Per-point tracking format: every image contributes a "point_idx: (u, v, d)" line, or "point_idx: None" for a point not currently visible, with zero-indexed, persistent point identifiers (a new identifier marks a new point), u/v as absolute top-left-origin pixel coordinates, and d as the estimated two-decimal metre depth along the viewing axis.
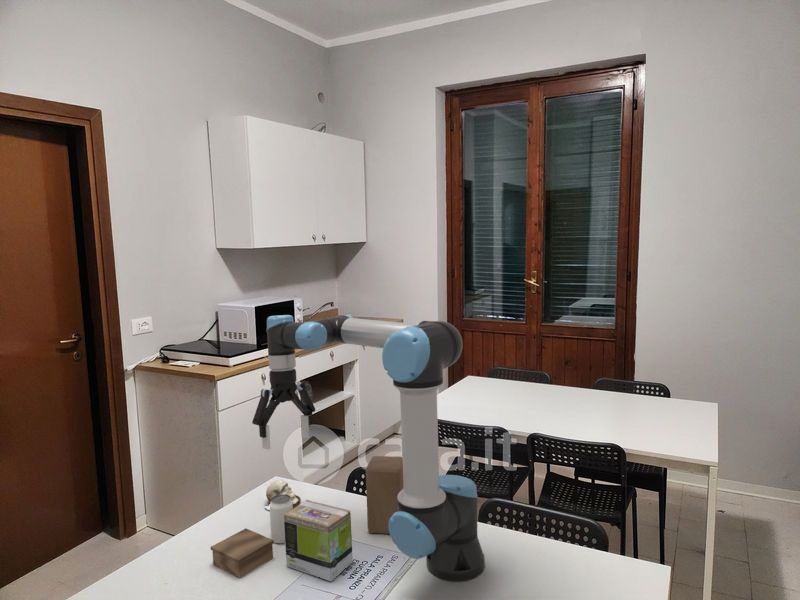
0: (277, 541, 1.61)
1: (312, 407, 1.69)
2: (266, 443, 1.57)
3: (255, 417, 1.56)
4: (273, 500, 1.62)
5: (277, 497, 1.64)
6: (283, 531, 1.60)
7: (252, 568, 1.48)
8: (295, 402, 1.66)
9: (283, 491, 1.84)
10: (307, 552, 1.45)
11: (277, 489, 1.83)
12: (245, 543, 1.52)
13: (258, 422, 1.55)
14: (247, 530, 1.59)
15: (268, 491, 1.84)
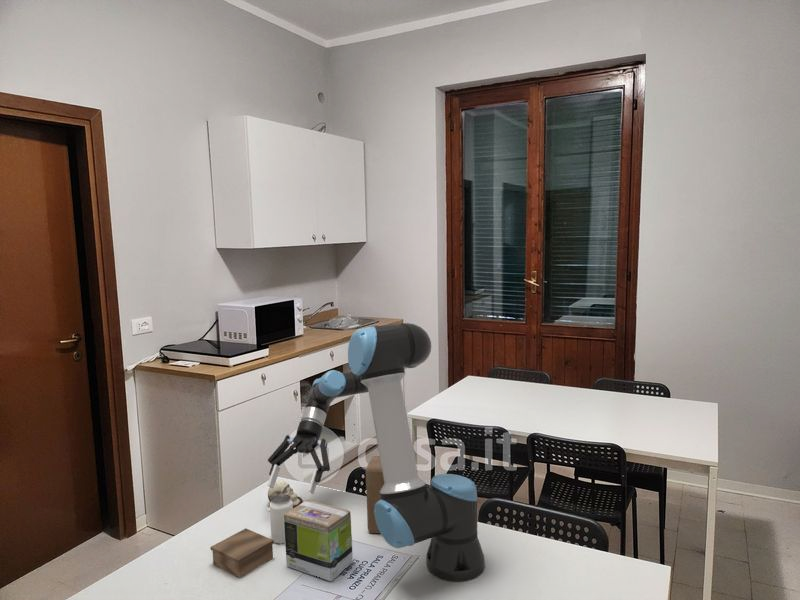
0: (277, 541, 1.61)
1: (324, 463, 1.70)
2: None
3: None
4: (273, 500, 1.62)
5: (277, 497, 1.64)
6: (283, 531, 1.60)
7: (252, 568, 1.48)
8: (312, 455, 1.74)
9: (285, 492, 1.83)
10: (307, 552, 1.45)
11: (279, 490, 1.82)
12: (245, 543, 1.52)
13: (269, 458, 1.76)
14: (247, 530, 1.59)
15: (270, 492, 1.83)
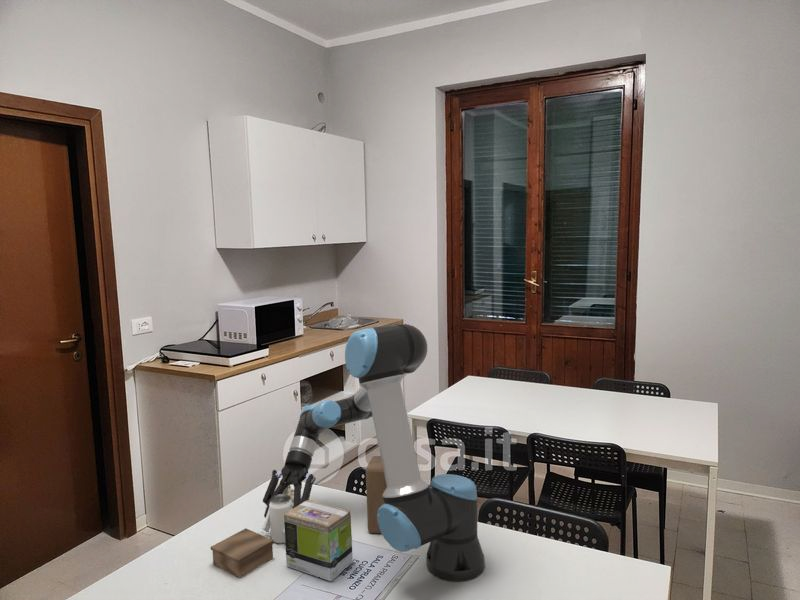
0: (277, 541, 1.61)
1: (302, 501, 1.62)
2: None
3: None
4: (273, 500, 1.62)
5: (277, 497, 1.64)
6: None
7: (252, 568, 1.48)
8: None
9: (286, 493, 1.82)
10: (307, 552, 1.45)
11: None
12: (245, 543, 1.52)
13: (263, 499, 1.66)
14: (247, 530, 1.59)
15: None
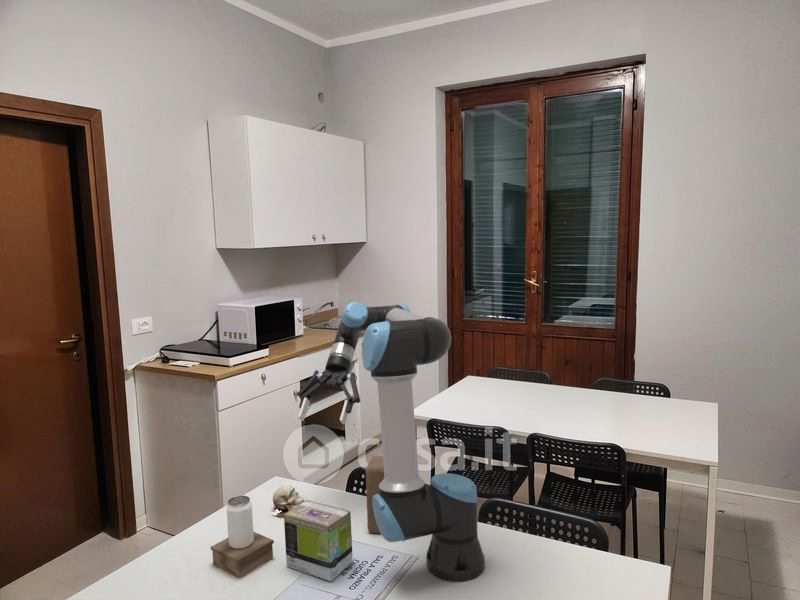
0: (234, 546, 1.49)
1: (355, 394, 1.71)
2: None
3: None
4: (231, 502, 1.51)
5: (236, 499, 1.52)
6: (240, 535, 1.49)
7: (252, 568, 1.48)
8: (342, 388, 1.74)
9: (291, 496, 1.80)
10: (307, 552, 1.45)
11: (285, 494, 1.79)
12: None
13: (298, 392, 1.76)
14: None
15: (275, 497, 1.79)
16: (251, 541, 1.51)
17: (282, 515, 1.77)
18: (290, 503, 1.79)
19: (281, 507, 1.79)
